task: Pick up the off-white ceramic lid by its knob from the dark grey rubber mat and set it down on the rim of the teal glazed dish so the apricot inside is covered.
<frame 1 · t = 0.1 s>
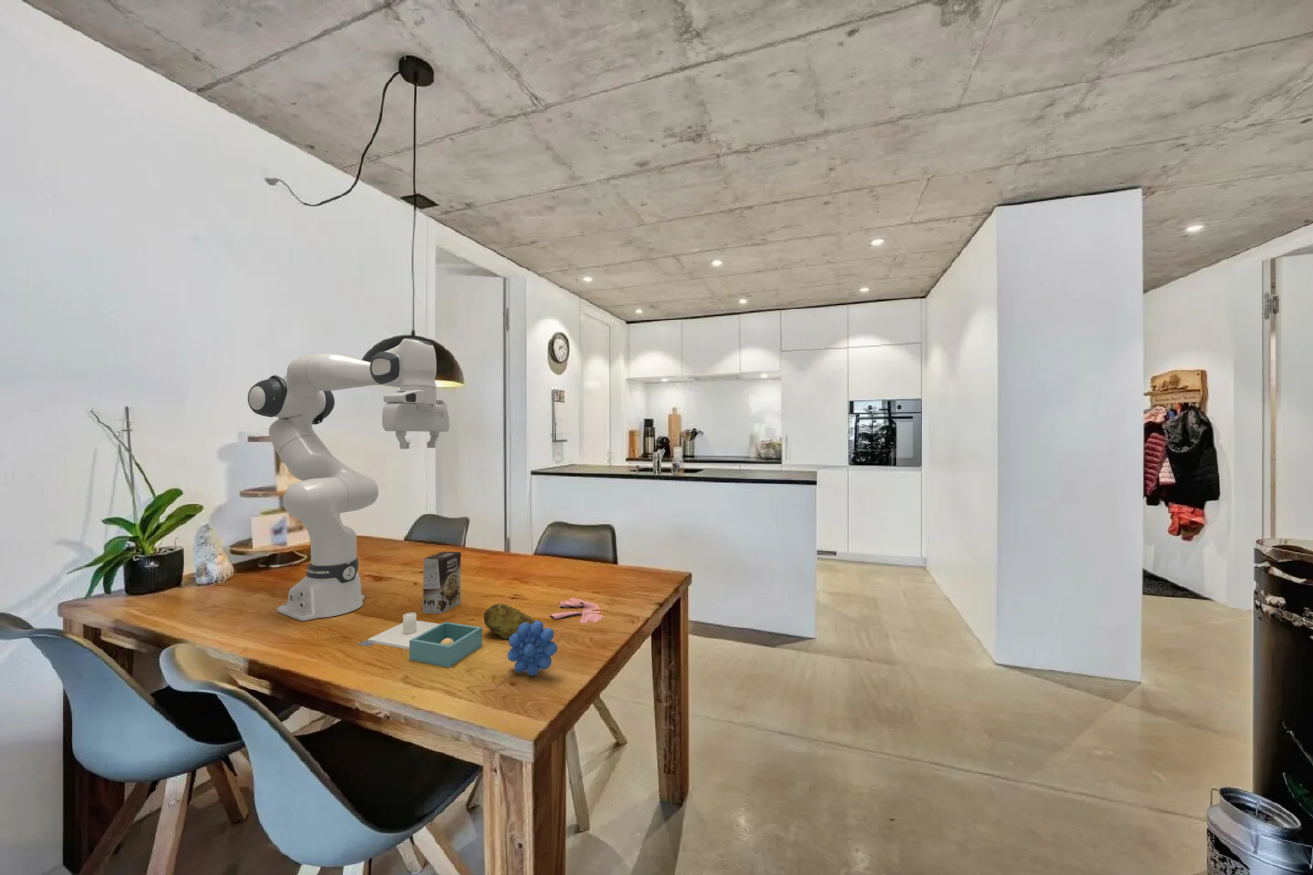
hand: (418, 448, 127), 48 cm above the table, fingers open, 8 cm apart
dish: (446, 654, 109), on the table
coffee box: (442, 609, 137), on the table
mat: (409, 636, 118), on the table
lid: (409, 635, 118), resting on mat
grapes: (534, 674, 101), on the table
apricot: (446, 652, 109), point 1 cm above the table, touching dish
potato: (509, 637, 119), on the table
cloth: (572, 613, 137), on the table
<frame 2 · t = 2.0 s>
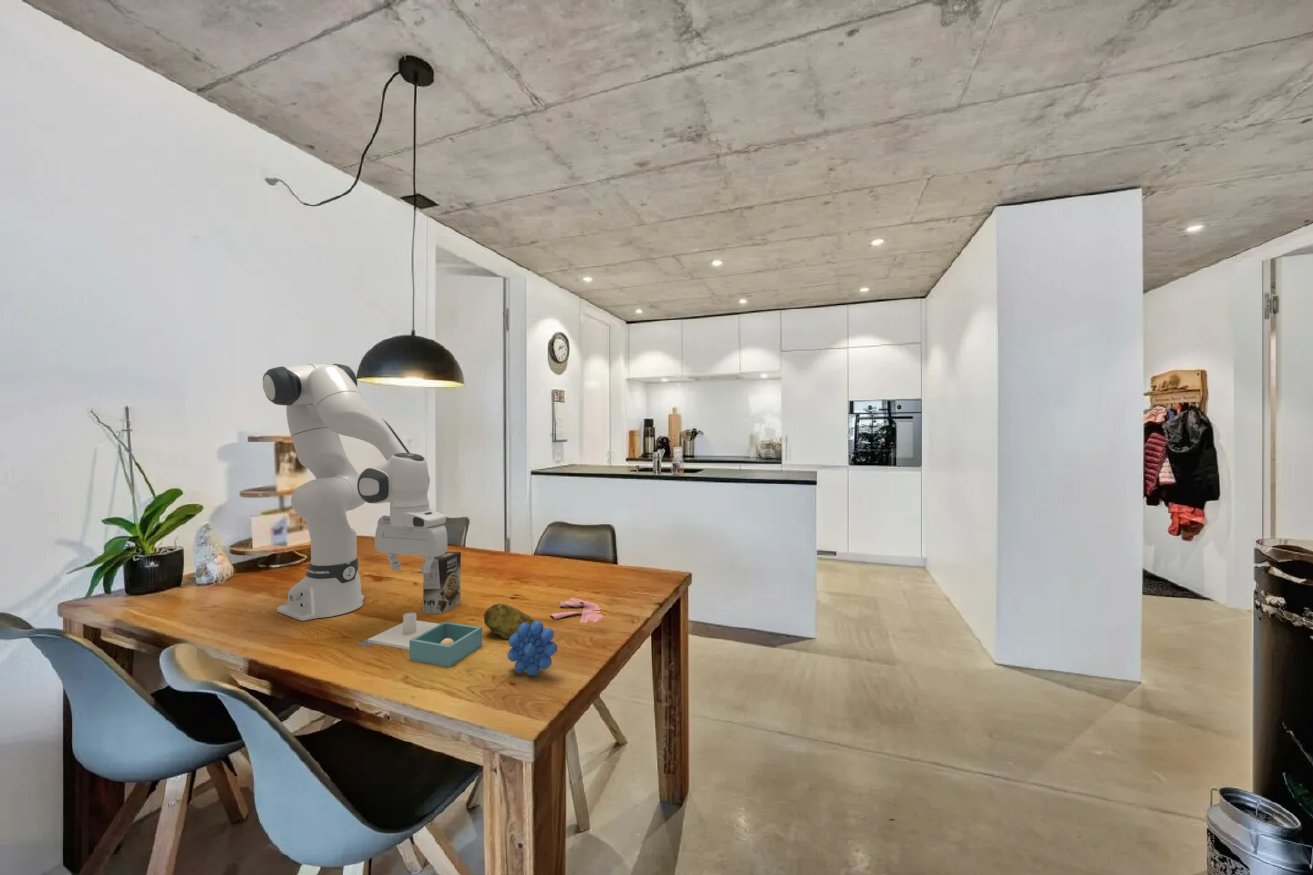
hand: (410, 571, 118), 17 cm above the table, fingers open, 8 cm apart
nothing on the table moved.
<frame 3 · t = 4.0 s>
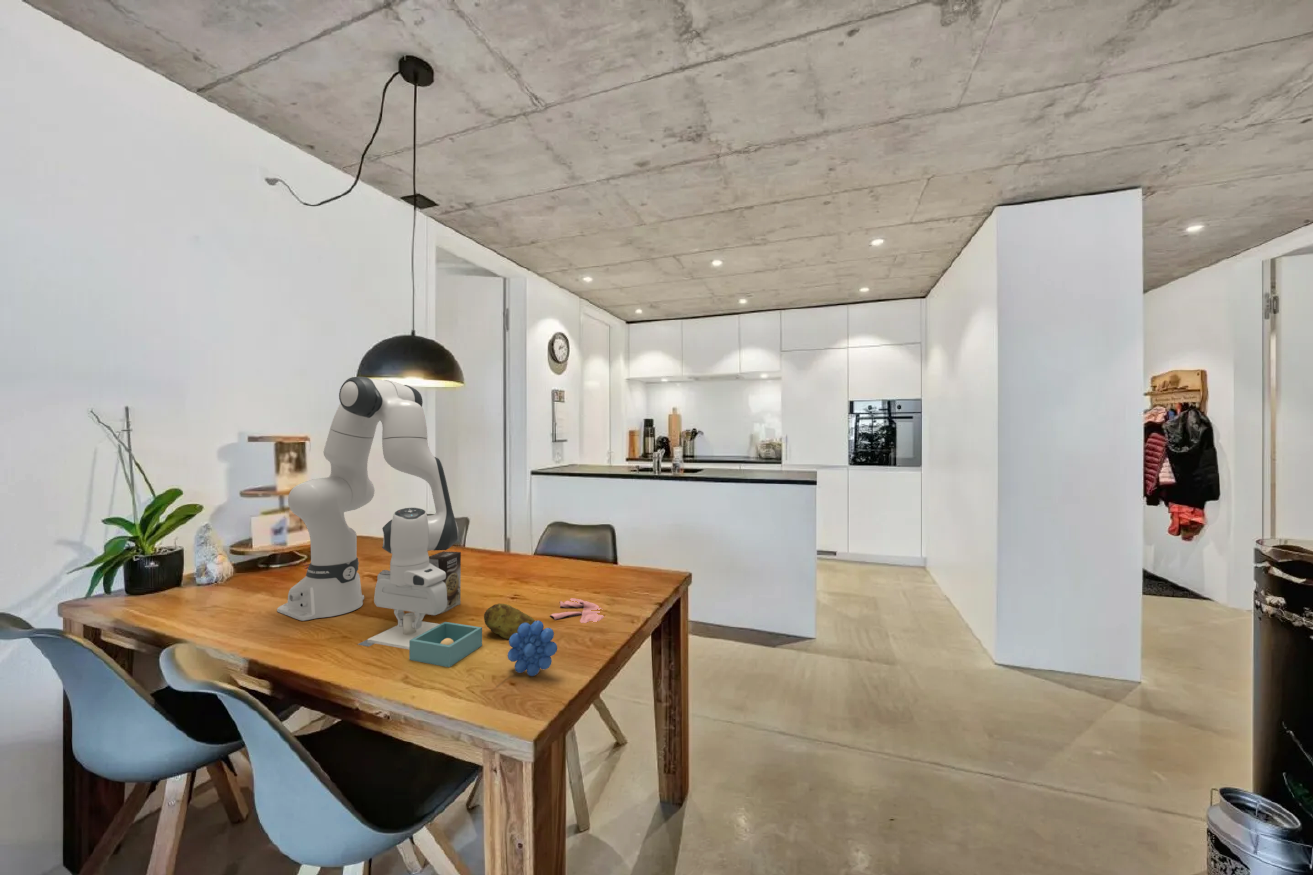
hand: (409, 626, 118), 3 cm above the table, fingers closed on lid, 3 cm apart
lid: (409, 635, 118), resting on mat, touching gripper
everything else where it was.
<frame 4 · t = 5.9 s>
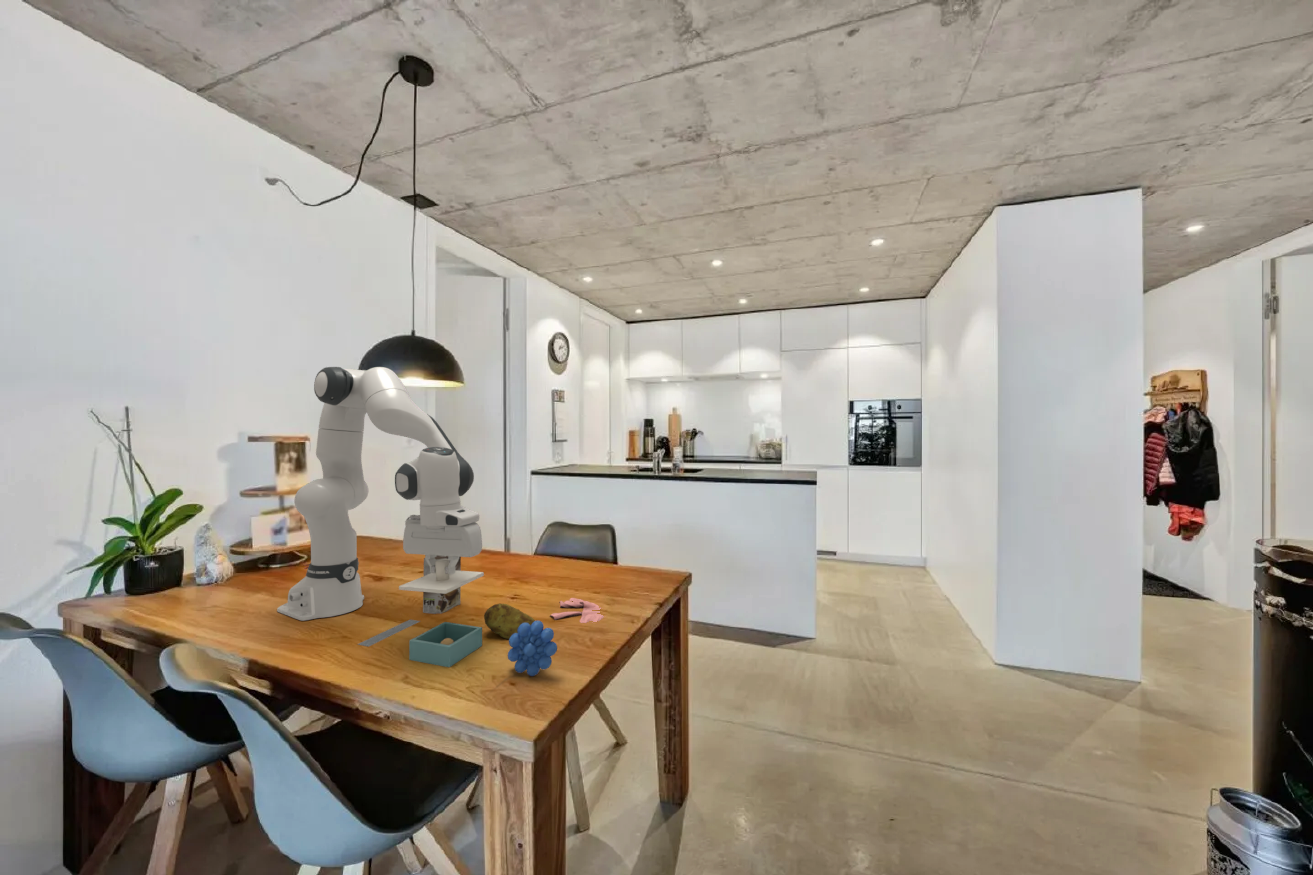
hand: (442, 573, 110), 19 cm above the table, fingers closed on lid, 3 cm apart
lid: (443, 582, 111), point 16 cm above the table, touching gripper
everything else where it was.
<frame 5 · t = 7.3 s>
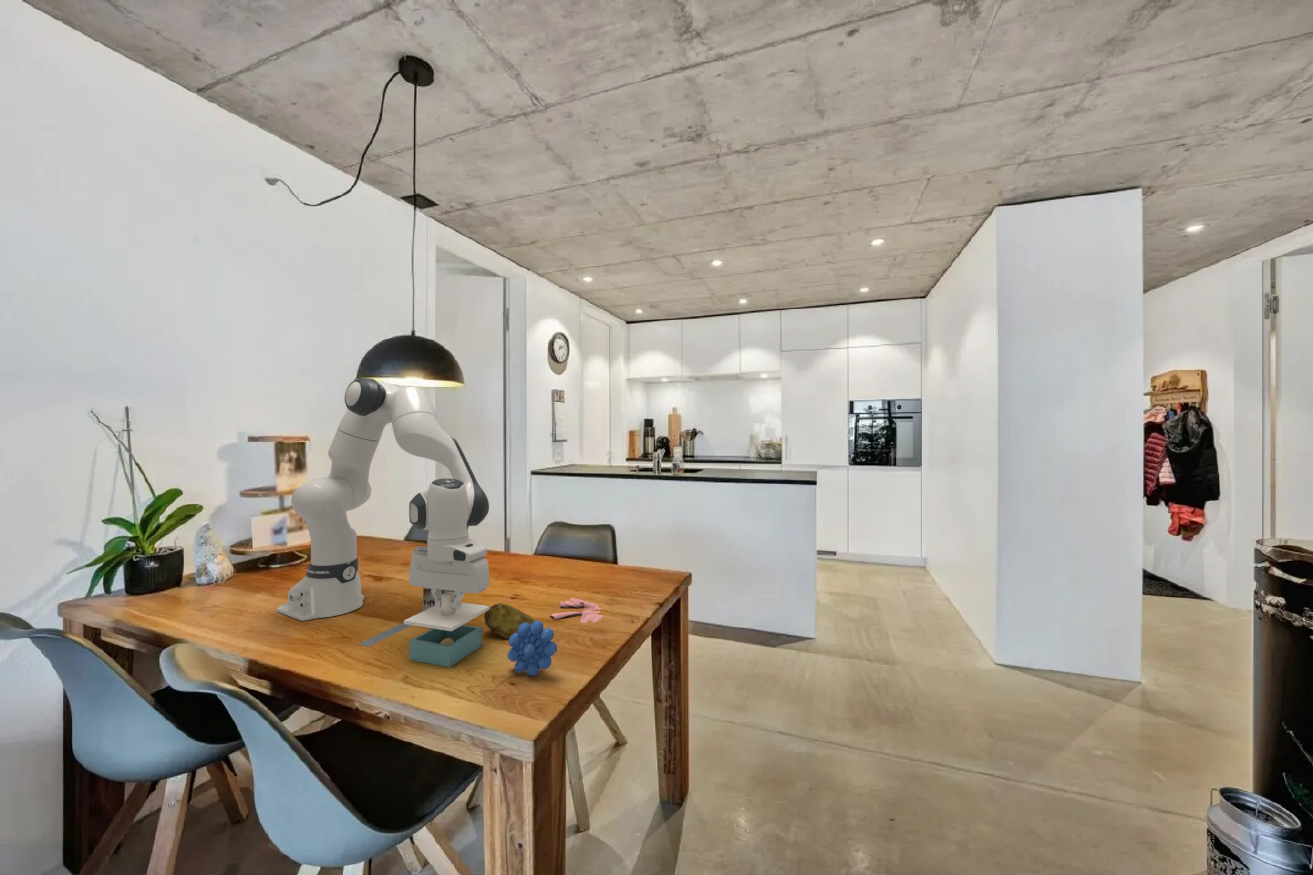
hand: (448, 607, 109), 11 cm above the table, fingers closed on lid, 3 cm apart
lid: (448, 616, 109), point 9 cm above the table, touching gripper
everything else where it was.
when the fingers open (8 cm above the table, at t = 8.1 s): lid stays where it is, resting on dish.
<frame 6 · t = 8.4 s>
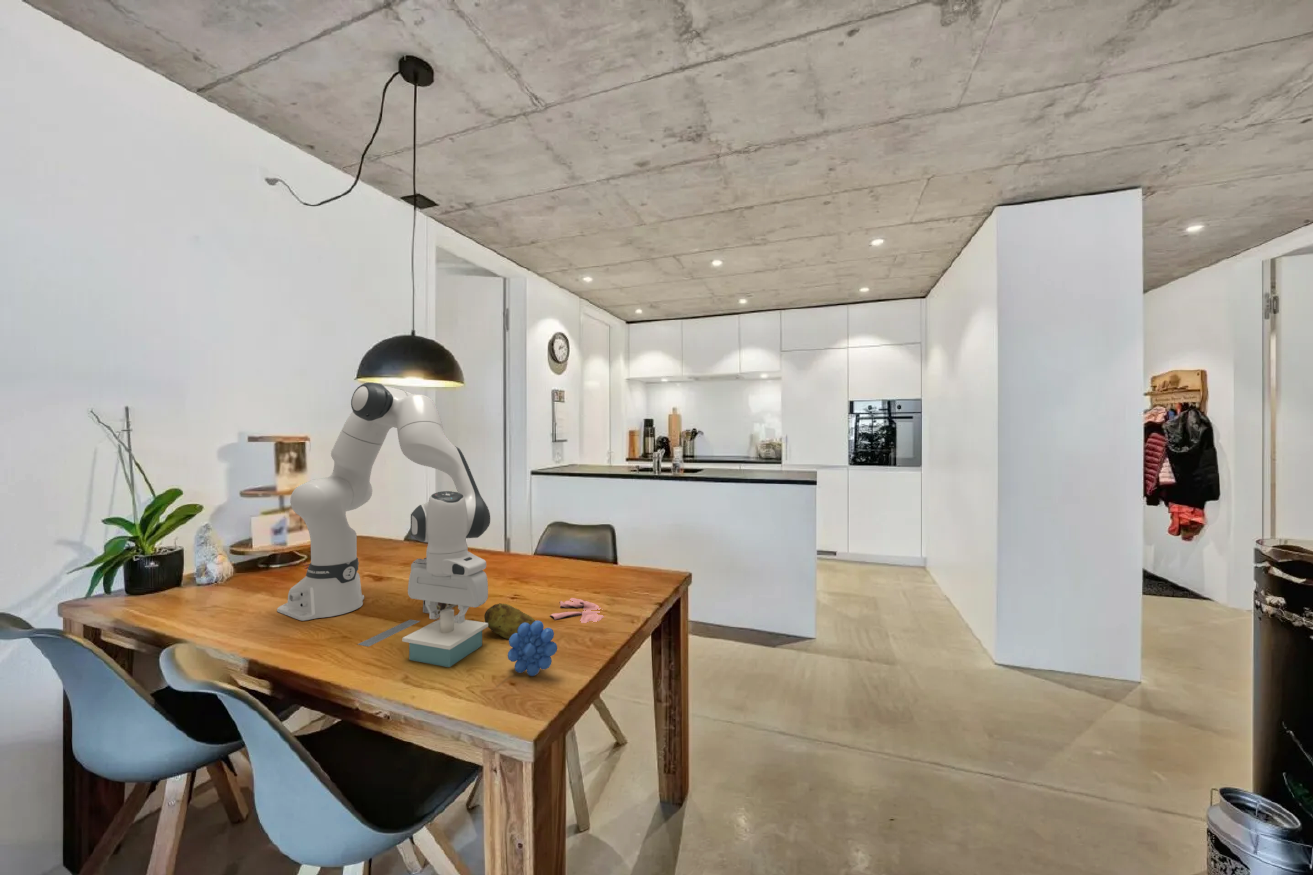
hand: (446, 620, 109), 8 cm above the table, fingers open, 6 cm apart
lid: (446, 633, 109), point 5 cm above the table, touching dish
everything else where it was.
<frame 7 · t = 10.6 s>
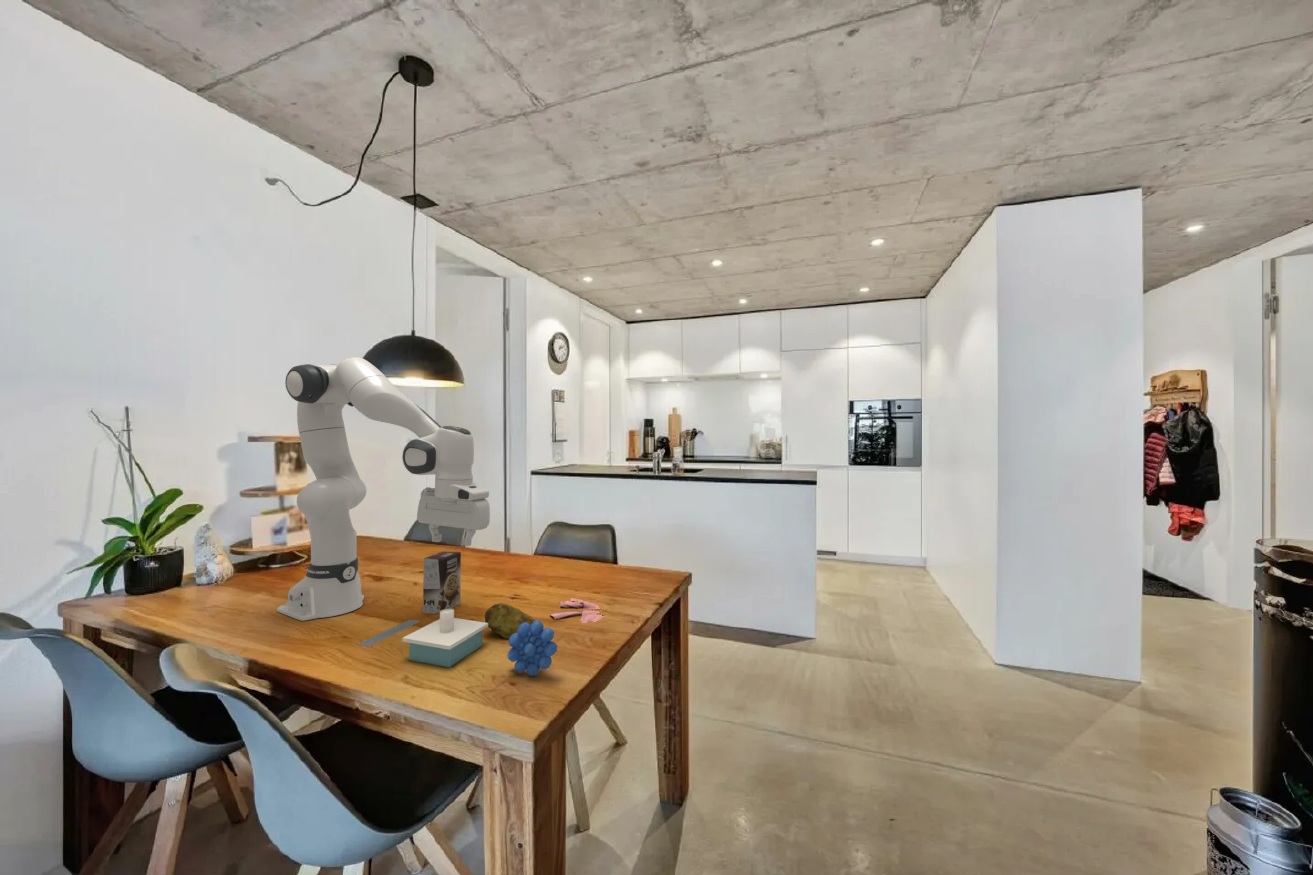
hand: (451, 543, 119), 24 cm above the table, fingers open, 8 cm apart
nothing on the table moved.
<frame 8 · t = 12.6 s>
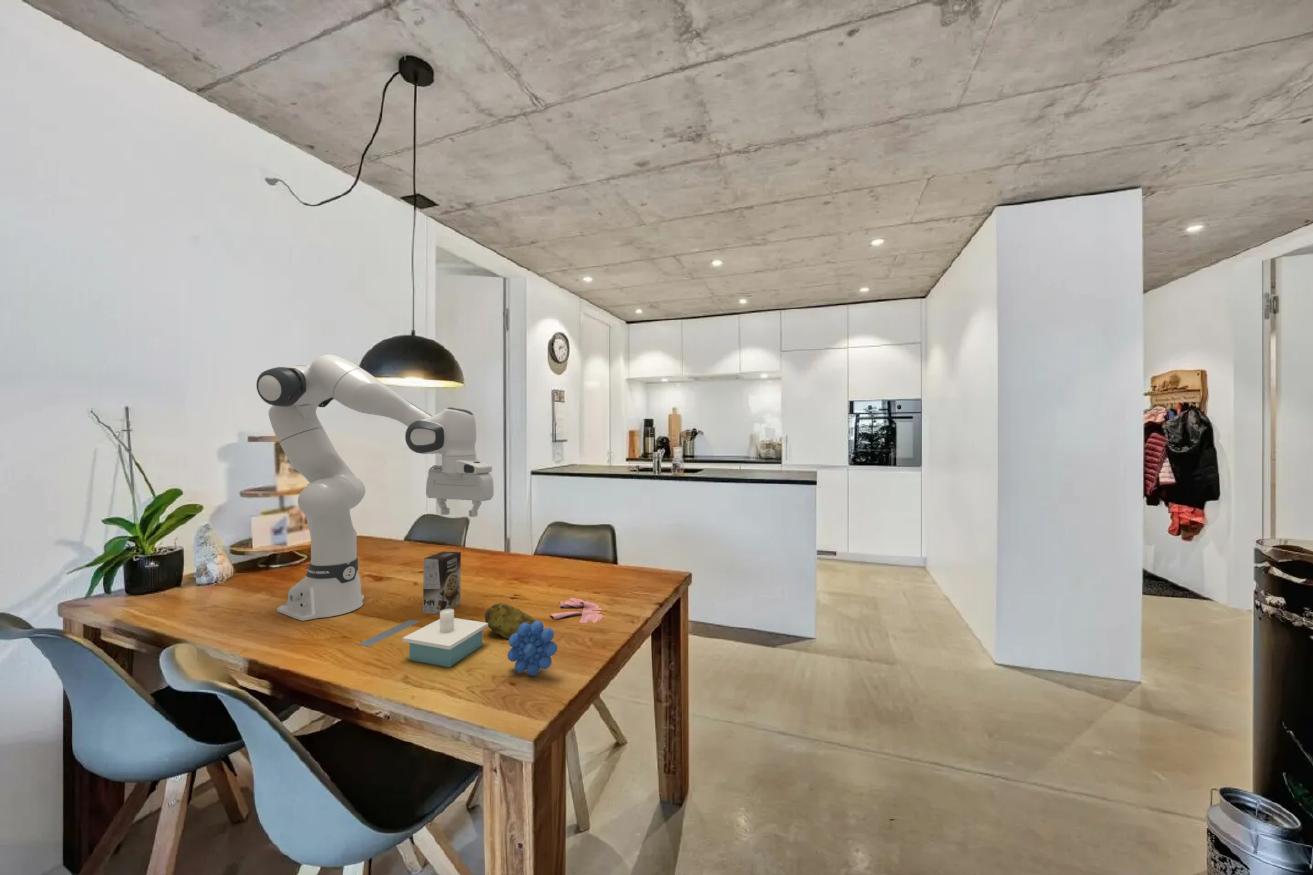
hand: (459, 515, 129), 29 cm above the table, fingers open, 8 cm apart
nothing on the table moved.
at the end: lid 0.1 cm off-centre on the dish, point 5.0 cm above the dish's base; lid tilted 0°; the gripper is holding nothing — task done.
